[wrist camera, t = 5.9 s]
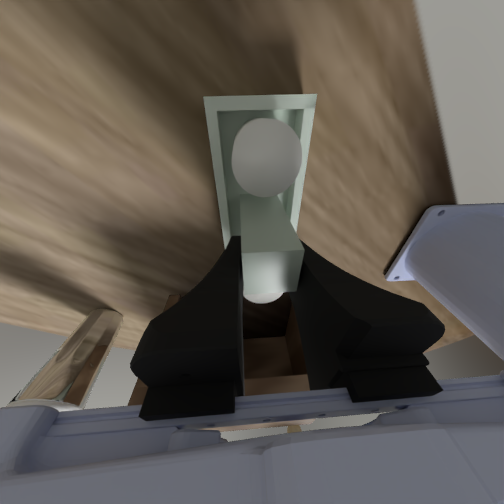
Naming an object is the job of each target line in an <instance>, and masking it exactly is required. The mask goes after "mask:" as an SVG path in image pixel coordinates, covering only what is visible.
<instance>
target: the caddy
mask: <svg viewBox="0 0 504 504" xmlns="http://www.w3.org/2000/svg"><path fill="white" fill-rule="evenodd" d="M316 98H317V94H290V95H246V96H203V99H204V106H205V113H206V120H207V127H208V134H209V141H210V148H211V155H212V162H213V169H214V176H215V183H216V190H217V197H218V204H219V211H220V218H221V225H222V232H223V239H224V246H225V249H226V247H227V245H228V243H229V241H230V238H231V237H232V236H240V235H241V253H242V267H243V281H244V290H243V295H244V297H245V298H246V299H247V300H249V301H251V302H254V303H269V302H272V301H274V300H276V299H278V298H279V297H280V296H281V295H282V294H283V293H284V292H295V291H297V286H298V281H299V276H300V271H301V265H302V260H303V255H304V248H303V246H302V244H301V242H300V240H299V238H298V236H297V234H296V231H297V224H298V218H299V211H300V204H301V198H302V191H303V184H304V178H305V171H306V165H307V158H308V151H309V145H310V138H311V131H312V125H313V118H314V111H315V105H316Z"/></svg>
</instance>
